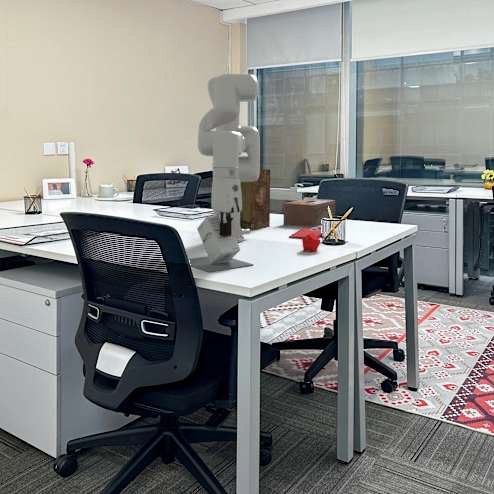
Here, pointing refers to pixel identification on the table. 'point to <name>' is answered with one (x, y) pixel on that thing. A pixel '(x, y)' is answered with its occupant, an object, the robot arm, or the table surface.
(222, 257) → the supplement box
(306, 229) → the red board with handle
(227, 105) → the robot arm
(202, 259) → the desk mat
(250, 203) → the book
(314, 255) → the table surface
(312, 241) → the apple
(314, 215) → the tissue box cover
